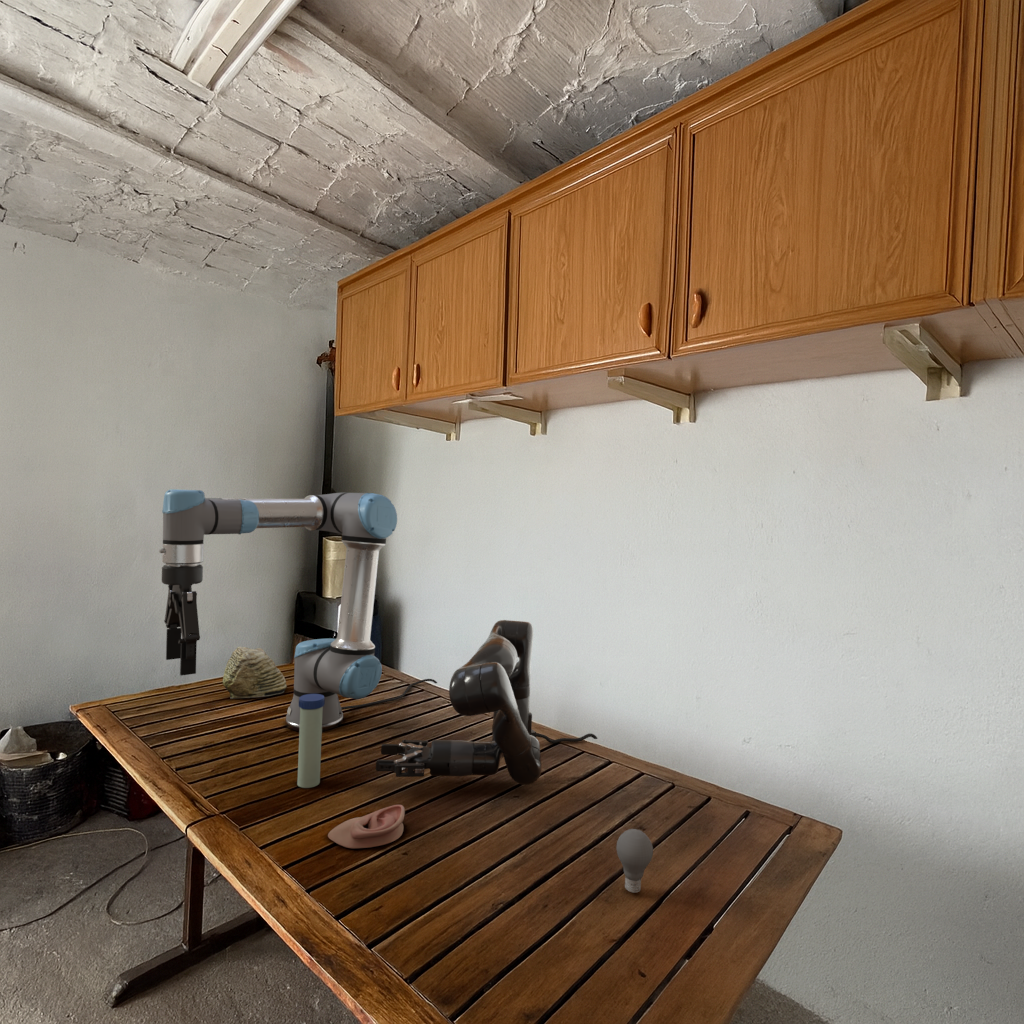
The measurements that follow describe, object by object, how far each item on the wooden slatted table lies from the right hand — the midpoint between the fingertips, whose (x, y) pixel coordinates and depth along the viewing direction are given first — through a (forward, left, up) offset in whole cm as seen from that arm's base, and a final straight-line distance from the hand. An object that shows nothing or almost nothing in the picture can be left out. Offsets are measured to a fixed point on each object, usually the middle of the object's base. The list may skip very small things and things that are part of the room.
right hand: (378, 757), depth 140 cm
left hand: (+39, -12, +21) cm, 46 cm away
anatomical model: (+8, +19, -6) cm, 22 cm away
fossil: (+17, -75, -6) cm, 77 cm away
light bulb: (-27, +54, -6) cm, 61 cm away
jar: (+14, -7, -6) cm, 16 cm away
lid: (+14, -7, +12) cm, 20 cm away
